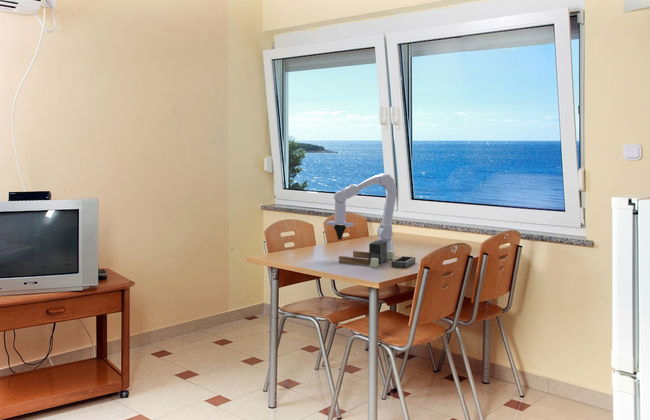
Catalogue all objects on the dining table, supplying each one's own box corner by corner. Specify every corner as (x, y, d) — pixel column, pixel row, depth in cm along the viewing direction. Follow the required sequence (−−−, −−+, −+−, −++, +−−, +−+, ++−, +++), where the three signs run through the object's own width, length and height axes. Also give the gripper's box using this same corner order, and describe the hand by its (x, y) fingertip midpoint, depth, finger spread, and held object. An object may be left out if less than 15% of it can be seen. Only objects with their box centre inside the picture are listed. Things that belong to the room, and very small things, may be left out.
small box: (375, 260, 328) (375, 240, 326) (387, 261, 325) (387, 241, 324) (368, 263, 318) (368, 243, 317) (380, 264, 315) (381, 243, 314)
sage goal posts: (389, 258, 333) (389, 250, 332) (394, 258, 331) (394, 251, 331) (370, 266, 309) (370, 258, 309) (376, 267, 308) (376, 259, 308)
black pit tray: (402, 261, 324) (402, 256, 324) (415, 262, 321) (415, 257, 321) (391, 266, 310) (391, 261, 310) (405, 268, 307) (405, 262, 307)
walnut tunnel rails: (354, 256, 338) (354, 250, 338) (382, 258, 331) (382, 253, 331) (338, 262, 320) (338, 256, 320) (368, 265, 313) (368, 259, 313)
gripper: (324, 213, 332) (324, 239, 334) (349, 215, 326) (349, 241, 328) (330, 212, 339) (330, 237, 340) (355, 214, 332) (354, 239, 334)
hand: (339, 239), depth 334 cm, fingers closed
